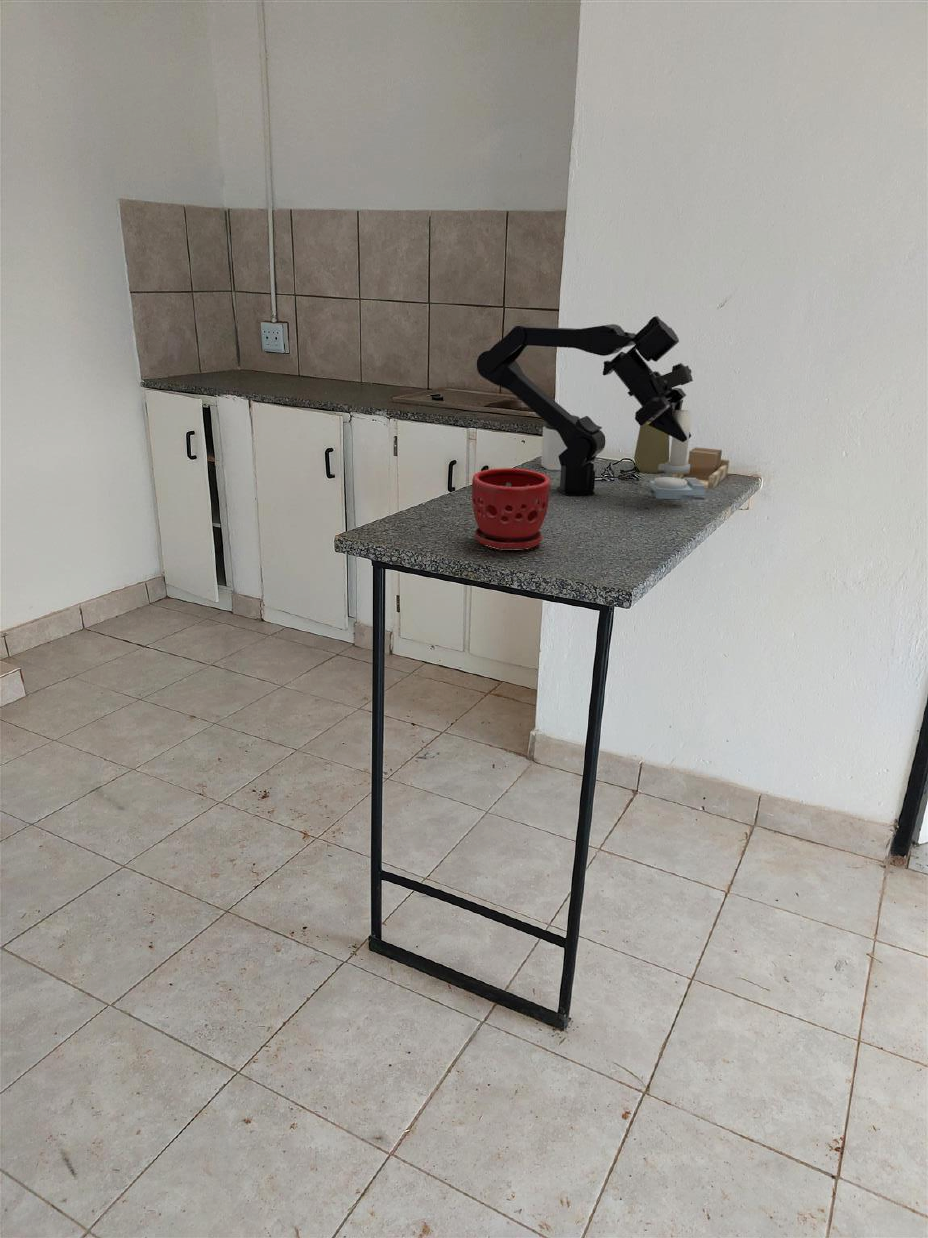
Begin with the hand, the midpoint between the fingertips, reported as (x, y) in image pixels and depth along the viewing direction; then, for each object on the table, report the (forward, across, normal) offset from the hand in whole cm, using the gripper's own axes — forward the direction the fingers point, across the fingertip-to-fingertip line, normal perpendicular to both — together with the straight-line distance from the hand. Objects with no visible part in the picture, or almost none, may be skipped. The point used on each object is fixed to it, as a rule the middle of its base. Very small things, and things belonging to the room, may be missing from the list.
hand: (687, 439), depth 178 cm
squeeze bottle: (0, +27, +19) cm, 33 cm away
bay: (+9, +23, +10) cm, 26 cm away
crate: (+8, +26, +9) cm, 28 cm away
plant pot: (-4, -43, +24) cm, 49 cm away
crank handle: (+4, 0, +6) cm, 7 cm away
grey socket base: (+8, +9, +12) cm, 17 cm away
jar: (-14, +23, +34) cm, 43 cm away
